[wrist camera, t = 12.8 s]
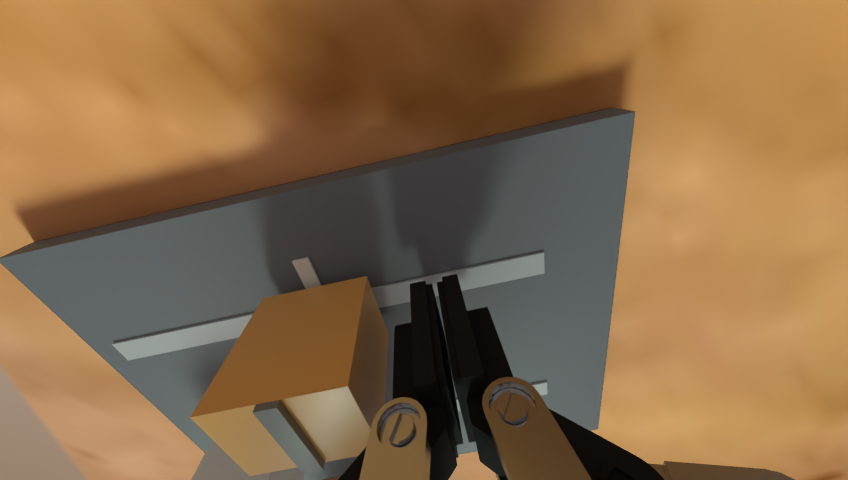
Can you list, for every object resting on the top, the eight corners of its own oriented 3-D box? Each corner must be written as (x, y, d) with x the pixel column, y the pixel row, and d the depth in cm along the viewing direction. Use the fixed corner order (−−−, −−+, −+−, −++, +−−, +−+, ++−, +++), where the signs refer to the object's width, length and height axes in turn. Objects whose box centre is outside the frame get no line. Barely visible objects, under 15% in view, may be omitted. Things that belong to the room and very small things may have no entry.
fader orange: (366, 276, 11) (346, 393, 7) (388, 333, 13) (382, 459, 9) (263, 298, 11) (184, 425, 7) (296, 352, 13) (246, 484, 9)
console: (612, 107, 11) (638, 112, 9) (587, 409, 19) (599, 431, 18) (32, 242, 12) (-9, 261, 11) (256, 471, 20) (247, 495, 19)
